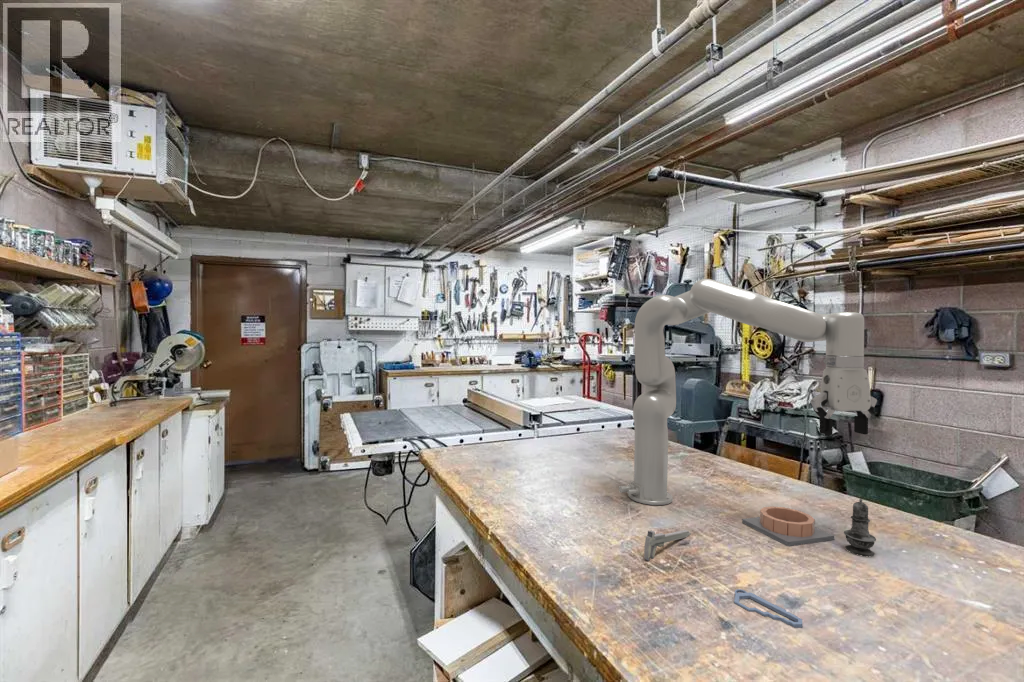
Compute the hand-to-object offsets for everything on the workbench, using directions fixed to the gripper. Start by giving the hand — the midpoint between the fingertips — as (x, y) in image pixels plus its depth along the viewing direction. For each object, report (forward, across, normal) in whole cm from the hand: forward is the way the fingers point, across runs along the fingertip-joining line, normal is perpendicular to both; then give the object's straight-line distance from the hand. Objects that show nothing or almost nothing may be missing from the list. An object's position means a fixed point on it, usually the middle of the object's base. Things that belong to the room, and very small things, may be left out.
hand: (843, 433), depth 114 cm
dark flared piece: (+25, -3, -7) cm, 26 cm away
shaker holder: (+25, -11, +5) cm, 28 cm away
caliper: (+25, -45, 0) cm, 51 cm away
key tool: (+25, -40, -26) cm, 54 cm away
